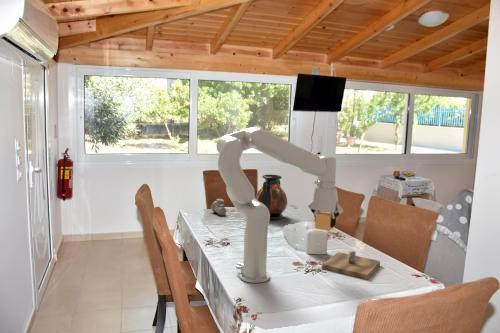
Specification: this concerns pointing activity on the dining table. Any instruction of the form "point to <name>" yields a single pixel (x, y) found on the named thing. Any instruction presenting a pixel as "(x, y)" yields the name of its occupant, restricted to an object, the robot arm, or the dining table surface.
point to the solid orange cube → (323, 221)
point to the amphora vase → (273, 196)
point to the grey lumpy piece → (218, 207)
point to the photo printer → (316, 241)
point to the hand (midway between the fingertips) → (325, 225)
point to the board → (351, 265)
